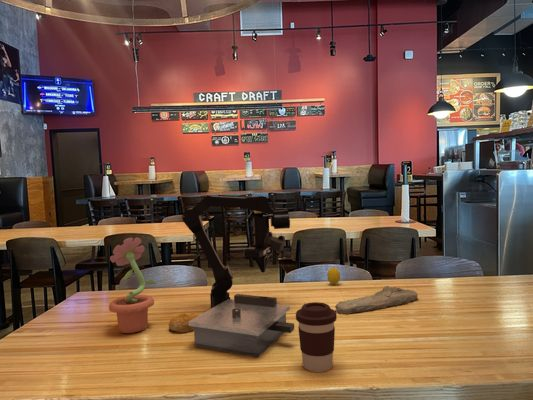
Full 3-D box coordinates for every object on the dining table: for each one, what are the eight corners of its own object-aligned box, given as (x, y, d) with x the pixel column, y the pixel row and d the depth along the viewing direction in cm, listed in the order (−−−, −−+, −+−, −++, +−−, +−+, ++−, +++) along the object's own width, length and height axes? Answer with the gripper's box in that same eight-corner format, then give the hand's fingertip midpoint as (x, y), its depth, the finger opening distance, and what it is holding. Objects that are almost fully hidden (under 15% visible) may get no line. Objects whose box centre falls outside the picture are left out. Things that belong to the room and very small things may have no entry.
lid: (188, 325, 110) (188, 313, 110) (228, 302, 130) (228, 292, 130) (258, 335, 101) (258, 322, 101) (290, 309, 121) (289, 297, 121)
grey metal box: (194, 346, 111) (193, 325, 111) (230, 322, 129) (229, 304, 129) (278, 361, 100) (278, 338, 100) (305, 332, 118) (304, 313, 118)
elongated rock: (329, 313, 140) (345, 323, 131) (328, 299, 139) (344, 308, 130) (405, 293, 153) (424, 301, 144) (404, 280, 153) (424, 287, 144)
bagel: (206, 323, 131) (205, 308, 130) (190, 335, 120) (190, 320, 120) (179, 321, 133) (179, 307, 133) (162, 333, 123) (161, 318, 123)
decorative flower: (146, 317, 137) (141, 232, 136) (166, 327, 127) (161, 235, 126) (103, 330, 127) (97, 238, 126) (121, 341, 117) (116, 241, 116)
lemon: (340, 286, 167) (339, 268, 167) (327, 286, 168) (326, 268, 168) (340, 283, 173) (340, 265, 172) (327, 283, 174) (327, 265, 173)
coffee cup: (294, 358, 101) (292, 301, 101) (332, 355, 102) (330, 298, 102) (301, 377, 92) (299, 314, 91) (342, 374, 92) (341, 311, 92)
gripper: (271, 233, 131) (273, 279, 131) (291, 226, 148) (293, 268, 148) (241, 233, 135) (243, 277, 136) (264, 226, 152) (266, 266, 153)
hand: (263, 272), depth 143 cm, fingers closed
